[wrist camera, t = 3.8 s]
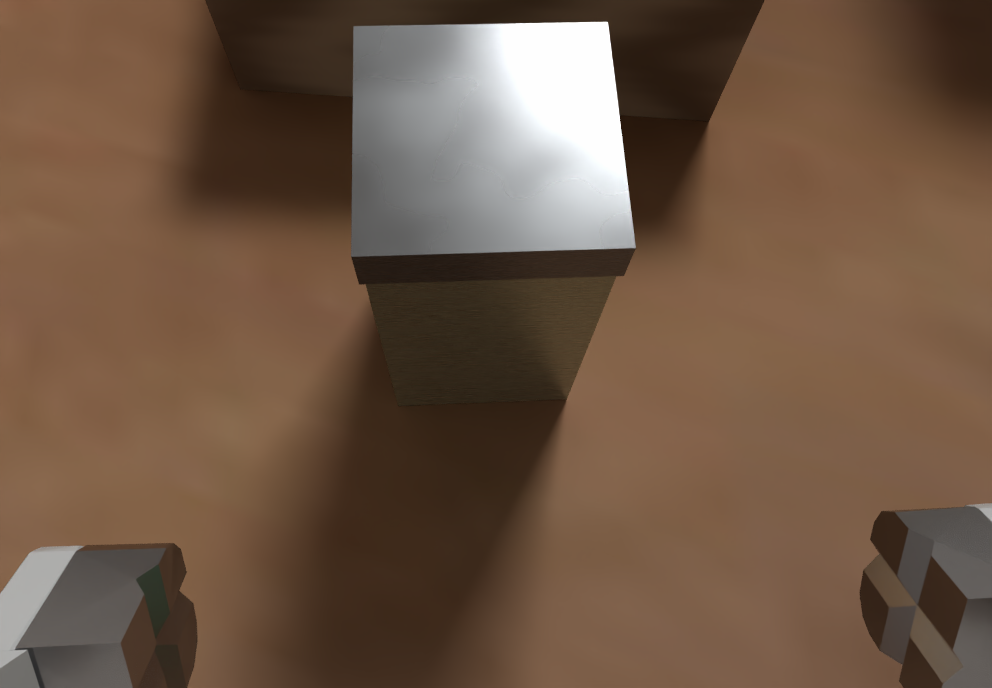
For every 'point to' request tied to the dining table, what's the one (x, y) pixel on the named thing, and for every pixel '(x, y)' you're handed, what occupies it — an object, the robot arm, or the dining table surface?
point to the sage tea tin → (487, 203)
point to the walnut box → (622, 3)
